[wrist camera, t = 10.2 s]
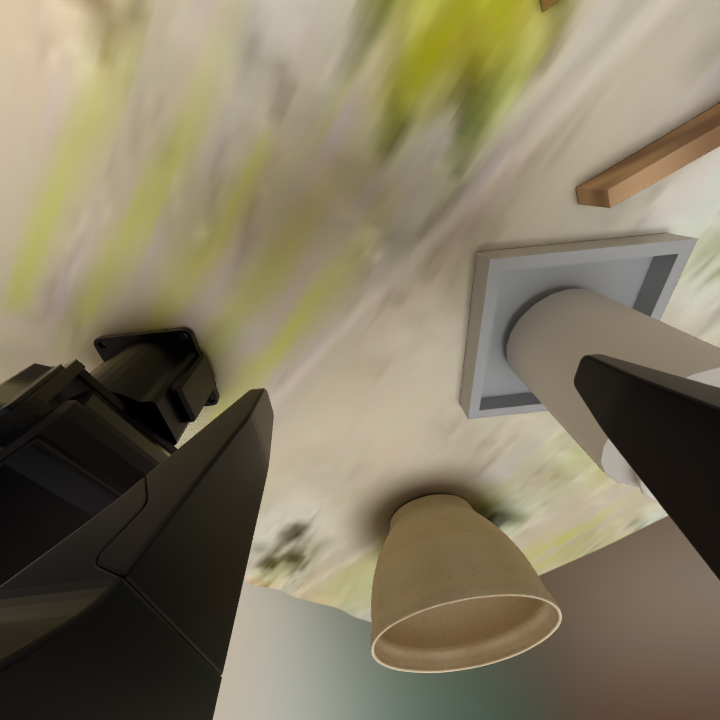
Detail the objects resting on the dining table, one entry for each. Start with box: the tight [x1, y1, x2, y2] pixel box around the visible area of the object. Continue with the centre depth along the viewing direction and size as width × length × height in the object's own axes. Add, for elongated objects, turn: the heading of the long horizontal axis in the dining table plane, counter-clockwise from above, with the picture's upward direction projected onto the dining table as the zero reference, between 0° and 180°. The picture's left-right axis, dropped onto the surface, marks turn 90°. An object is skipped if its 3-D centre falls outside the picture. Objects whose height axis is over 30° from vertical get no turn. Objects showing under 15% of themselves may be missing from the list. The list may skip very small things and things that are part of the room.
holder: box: [541, 0, 720, 208], centre depth 14 cm, size 9×10×2 cm
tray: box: [460, 233, 698, 419], centre depth 22 cm, size 13×13×2 cm
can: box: [506, 289, 720, 502], centre depth 18 cm, size 8×8×12 cm
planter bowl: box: [371, 494, 562, 673], centre depth 30 cm, size 16×16×11 cm
